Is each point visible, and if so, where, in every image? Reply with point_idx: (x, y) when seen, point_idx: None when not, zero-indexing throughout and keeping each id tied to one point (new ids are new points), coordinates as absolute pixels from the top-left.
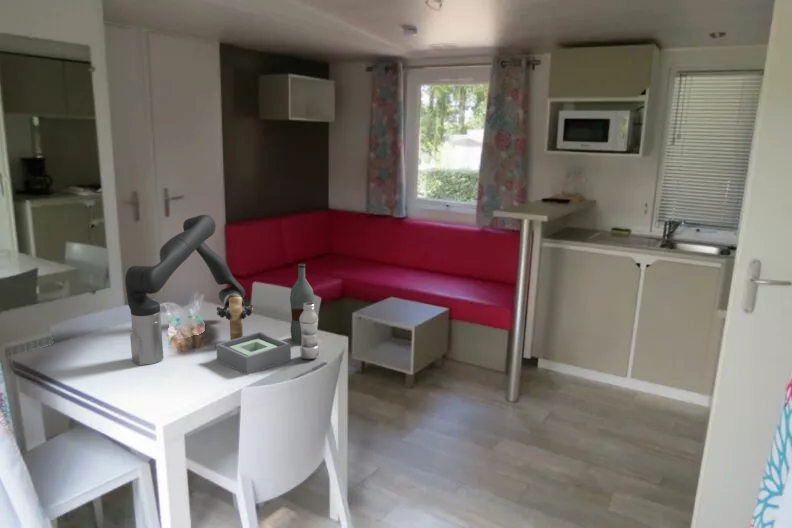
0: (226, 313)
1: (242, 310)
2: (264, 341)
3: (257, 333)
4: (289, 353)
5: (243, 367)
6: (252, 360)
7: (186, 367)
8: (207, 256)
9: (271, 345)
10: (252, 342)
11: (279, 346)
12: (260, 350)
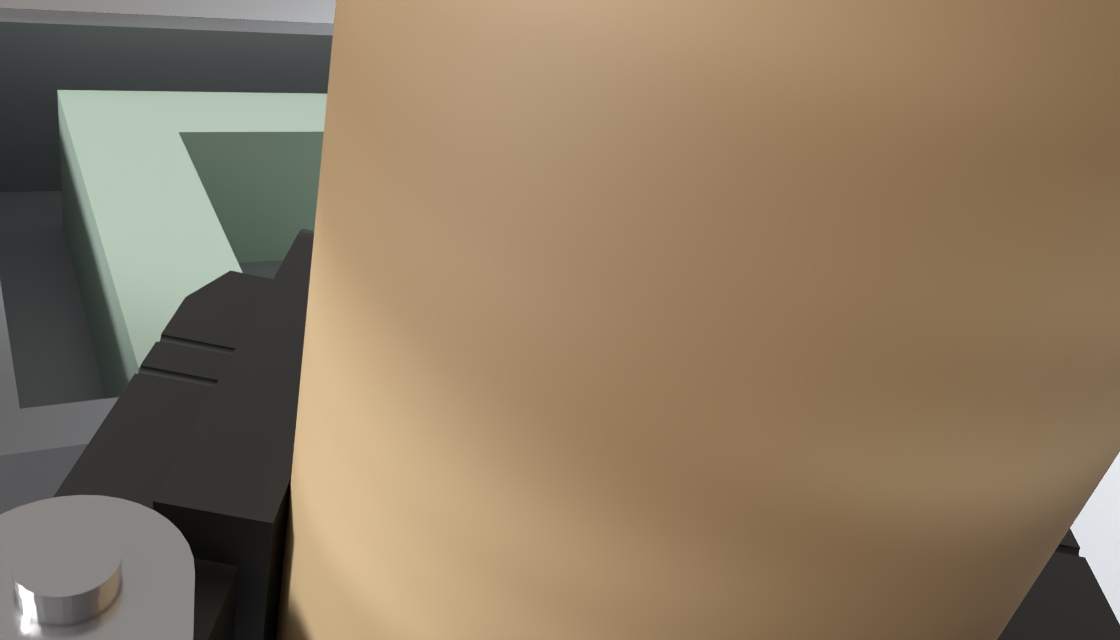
0: (1092, 625)
1: (192, 565)
2: (114, 243)
3: (64, 414)
4: None
5: None
6: None
7: (1100, 504)
8: None
9: (110, 137)
10: None
11: (92, 22)
12: (319, 113)
